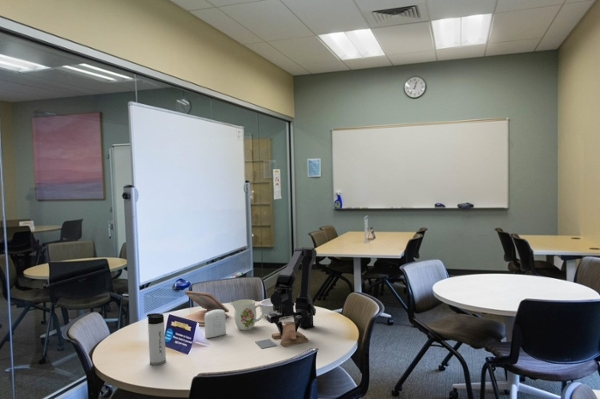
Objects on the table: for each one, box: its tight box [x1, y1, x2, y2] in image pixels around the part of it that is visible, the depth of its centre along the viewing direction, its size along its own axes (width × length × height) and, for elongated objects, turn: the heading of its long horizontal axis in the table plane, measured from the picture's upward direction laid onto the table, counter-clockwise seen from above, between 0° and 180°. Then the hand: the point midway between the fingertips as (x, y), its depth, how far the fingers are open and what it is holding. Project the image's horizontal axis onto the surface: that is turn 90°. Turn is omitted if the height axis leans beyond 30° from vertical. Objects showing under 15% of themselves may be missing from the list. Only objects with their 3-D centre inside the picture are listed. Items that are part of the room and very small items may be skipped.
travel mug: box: [146, 312, 167, 366], centre depth 177 cm, size 6×7×20 cm
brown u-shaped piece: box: [271, 330, 309, 348], centre depth 198 cm, size 12×14×2 cm
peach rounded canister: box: [280, 320, 296, 342], centre depth 196 cm, size 10×7×8 cm
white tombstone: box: [204, 309, 227, 339], centre depth 206 cm, size 10×4×12 cm, turn 123°
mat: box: [255, 338, 277, 350], centre depth 193 cm, size 7×9×1 cm
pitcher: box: [228, 298, 265, 331], centre depth 216 cm, size 11×18×14 cm, turn 115°
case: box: [183, 290, 230, 327], centre depth 234 cm, size 20×21×16 cm
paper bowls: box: [259, 298, 281, 318], centre depth 235 cm, size 15×15×8 cm
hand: (288, 334), depth 198 cm, fingers closed on peach rounded canister, 7 cm apart
